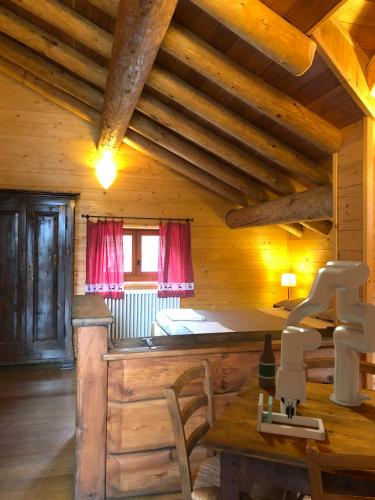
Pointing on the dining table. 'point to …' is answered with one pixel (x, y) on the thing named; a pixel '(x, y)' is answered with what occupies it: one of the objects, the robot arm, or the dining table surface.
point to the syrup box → (283, 407)
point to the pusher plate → (269, 412)
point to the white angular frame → (295, 420)
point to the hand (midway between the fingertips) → (289, 417)
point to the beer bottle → (267, 364)
